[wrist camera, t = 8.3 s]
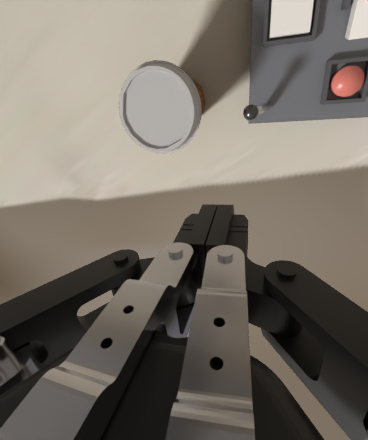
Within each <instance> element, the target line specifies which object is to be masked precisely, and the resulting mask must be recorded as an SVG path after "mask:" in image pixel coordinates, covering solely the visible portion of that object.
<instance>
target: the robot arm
mask: <svg viewBox="0 0 368 440" xmlns="http://www.w3.org/2000/svg"><path fill="white" fill-rule="evenodd" d="M247 249H248V220H247V218H246V217H245V216H244V215H234V206H233V205H206V204H205V205H204V204H203V205H202V207H201V209H200V212H199V214H191V215H190V216H189V217H187V218H186V219H185V221H184V223H183V225H182V227H181V229H180V231H179V233H178V235H177V237H176V238H175V241H174V242H173V243H172V244H168V245H166V246H164V247H163V248H162V249H161V250H160V251H159V252H158V254H157V255H156V257H154V258H147V259H140V260H139V255H138V253H137V252H135V251H133V250H120V251H117V252H114V253H112V254H110V255H108V256H105V257H103V258H101V259H99V260H97V261H94V262H92V263H90V264H88V265H86V266H83V267H81V268H79V269H77V270H75V271H73V272H71V273H69V274H66V275H64V276H62V277H59V278H57V279H55V280H53V281H51V282H49V283H47V284H44V285H42V286H40V287H38V288H36V289H33V290H31V291H29V292H27V293H25V294H23V295H20V296H18V297H16V298H14V299H12V300H9V301H7V302H5V303H3V304H1V305H0V440H324V439H323V437H322V436H321V435H320V433H319V432H318V430H317V429H316V428H315V426H314V425H313V423H312V422H311V421H310V419H309V418H308V417H307V415H306V414H305V413H304V411H303V410H302V408H301V407H300V405H299V404H298V403H297V401H296V400H295V399H294V397H293V396H292V394H291V393H290V392H289V390H288V389H287V388H286V386H285V385H284V384H283V382H282V381H281V380H280V379H279V378H278V377H277V375H276V374H275V373H274V372H273V371H272V370H271V369H269V368H268V367H267V366H266V365H265V364H263V363H262V362H260V361H259V360H258V359H256V358H254V357H252V356H251V355H250V346H249V326H248V323H251V324H253V325H255V326H257V327H260V328H261V330H262V334H263V336H264V337H265V338H266V339H267V341H268V342H269V343H270V344H271V345H272V346H273V348H274V349H275V350H276V351H277V353H278V354H279V355H280V356H281V357H282V358H283V360H284V361H285V362H286V363H287V364H288V366H289V367H290V368H291V369H292V370H293V372H294V373H295V374H296V375H297V376H298V377H299V379H300V380H301V381H302V382H303V383H304V384H305V386H306V387H307V388H308V389H309V390H310V392H311V393H312V394H313V395H314V396H315V398H316V399H317V400H318V401H319V402H320V404H321V405H322V406H323V407H324V408H325V409H326V411H327V412H328V413H329V414H330V415H331V417H332V418H333V419H334V420H335V421H336V423H337V424H338V425H339V426H340V427H341V429H342V430H343V431H344V432H345V433H346V434H347V436H348V437H349V438H350V439H351V440H368V312H367V311H365V310H364V309H362V308H361V307H360V306H358V305H357V304H355V303H354V302H352V301H351V300H350V299H348V298H347V297H345V296H344V295H342V294H341V293H340V292H338V291H337V290H335V289H334V288H332V287H331V286H330V285H328V284H327V283H325V282H324V281H322V280H321V279H320V278H318V277H317V276H315V275H314V274H313V273H311V272H310V271H308V270H307V269H305V268H304V267H303V266H301V265H299V264H297V263H294V262H291V261H275V262H272V263H270V264H268V265H267V266H266V267H263V266H260V265H257V264H255V263H253V262H251V261H250V260H249V259H248V257H247ZM109 290H112V293H113V296H114V297H113V298H112V299H111V301H110V302H108V303H107V304H105V305H103V306H101V307H99V308H98V309H96V310H94V311H92V312H90V313H89V314H87V315H85V316H82V317H80V316H77V311H78V309H79V308H80V307H81V306H82V305H83V304H85V303H87V302H89V301H91V300H92V299H94V298H96V297H98V296H100V295H102V294H104V293H106V292H108V291H109ZM189 329H190V331H189ZM188 332H189V336H188V337H187V335H188Z"/></svg>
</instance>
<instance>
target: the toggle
mask: <svg viewBox="0 0 368 440" xmlns="http://www.w3.org/2000/svg"><path fill="white" fill-rule="evenodd" d="M271 108H272V104H271V103H270V102H266V103H263V104H260V105H257V106H255V105H253V104H251V105H248V106H247V107H246V108H245V109H244V112H243V114H244V117H245V118H246V119H247V120H254V119H255V118H256V117H257V116H258V115H259V114H261V113H264V112H266V111H269V110H270V109H271Z"/></svg>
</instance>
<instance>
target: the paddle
mask: <svg viewBox="0 0 368 440" xmlns="http://www.w3.org/2000/svg"><path fill="white" fill-rule="evenodd" d="M313 2H314V0H272V3H271V20H270V37H269V39H271V38H278V37H286V36H293V35H300V34H307V33H309V32H310V27H311V19H312V10H313Z"/></svg>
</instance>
